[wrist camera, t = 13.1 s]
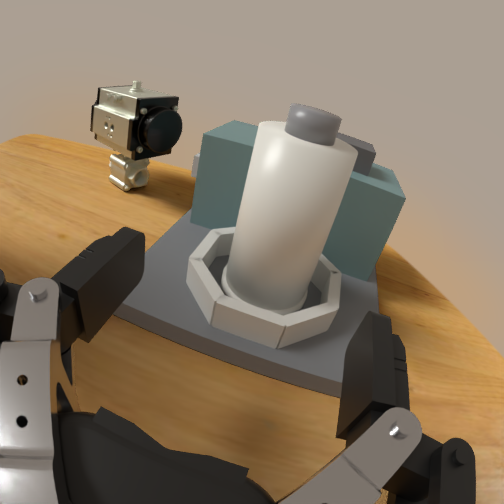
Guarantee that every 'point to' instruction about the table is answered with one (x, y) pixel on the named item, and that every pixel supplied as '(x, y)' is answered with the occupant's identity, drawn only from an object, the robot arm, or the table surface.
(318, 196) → the bottle
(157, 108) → the pneumatic valve
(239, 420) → the table surface
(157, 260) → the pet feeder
